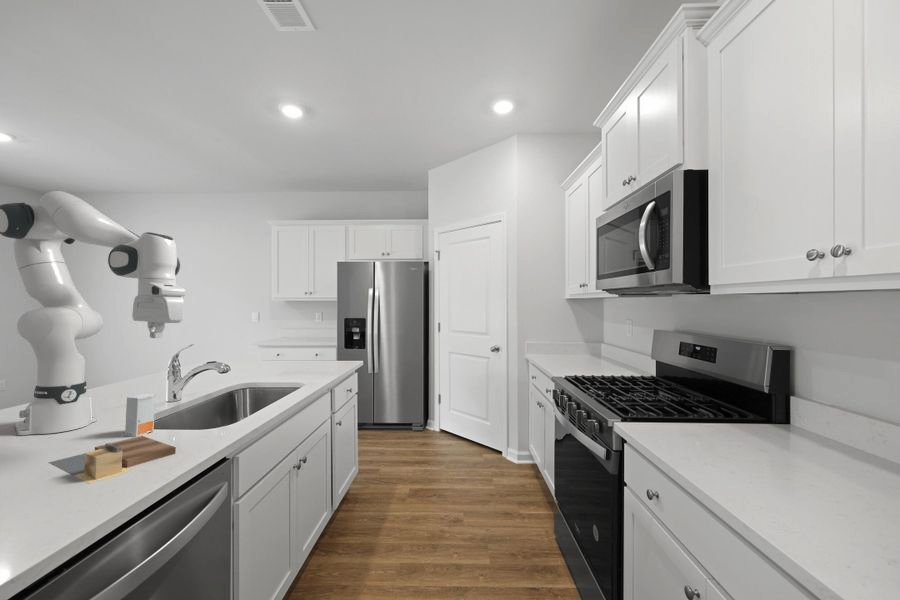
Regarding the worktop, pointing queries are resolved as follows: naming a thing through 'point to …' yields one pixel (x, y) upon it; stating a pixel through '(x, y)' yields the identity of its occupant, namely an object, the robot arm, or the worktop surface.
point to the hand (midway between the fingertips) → (155, 338)
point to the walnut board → (141, 450)
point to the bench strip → (79, 468)
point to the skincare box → (140, 414)
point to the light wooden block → (103, 461)
